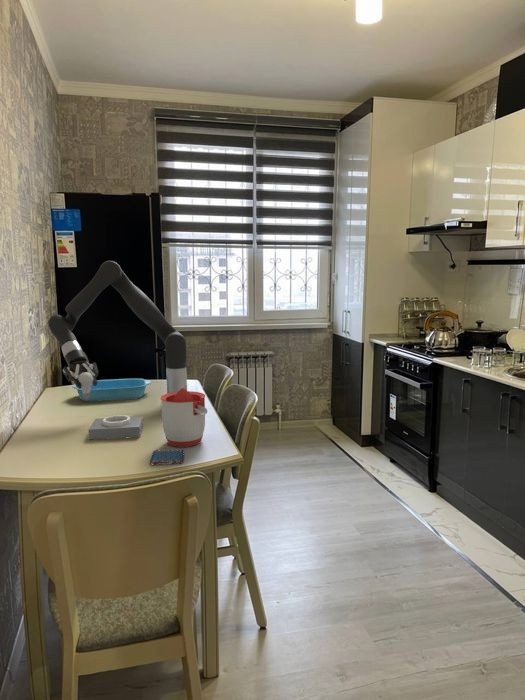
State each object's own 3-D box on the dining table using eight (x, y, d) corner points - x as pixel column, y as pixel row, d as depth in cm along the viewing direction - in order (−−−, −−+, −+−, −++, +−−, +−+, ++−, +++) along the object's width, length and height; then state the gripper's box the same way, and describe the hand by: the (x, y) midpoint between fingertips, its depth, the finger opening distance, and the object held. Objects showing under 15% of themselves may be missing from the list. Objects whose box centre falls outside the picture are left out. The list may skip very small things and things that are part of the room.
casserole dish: (149, 389, 260) (148, 376, 259) (152, 399, 239) (151, 385, 238) (75, 394, 250) (74, 380, 249) (71, 405, 229) (70, 390, 228)
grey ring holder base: (143, 426, 195) (142, 412, 195) (139, 437, 182) (139, 422, 181) (96, 428, 193) (95, 414, 192) (89, 440, 179) (88, 425, 178)
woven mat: (183, 466, 155) (183, 460, 155) (149, 467, 154) (148, 461, 154) (185, 454, 166) (185, 448, 165) (153, 455, 165) (153, 449, 164)
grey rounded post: (80, 401, 197) (77, 374, 196) (78, 398, 203) (75, 371, 201) (95, 399, 200) (93, 372, 198) (93, 396, 206) (91, 370, 204)
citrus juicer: (191, 453, 164) (189, 395, 161) (153, 444, 174) (150, 389, 171) (219, 440, 178) (218, 386, 175) (182, 432, 187) (180, 381, 184)
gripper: (58, 350, 199) (72, 383, 192) (92, 346, 209) (107, 378, 202) (54, 362, 203) (68, 394, 197) (87, 357, 213) (102, 388, 207)
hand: (88, 386), depth 199 cm, fingers closed on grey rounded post, 6 cm apart
